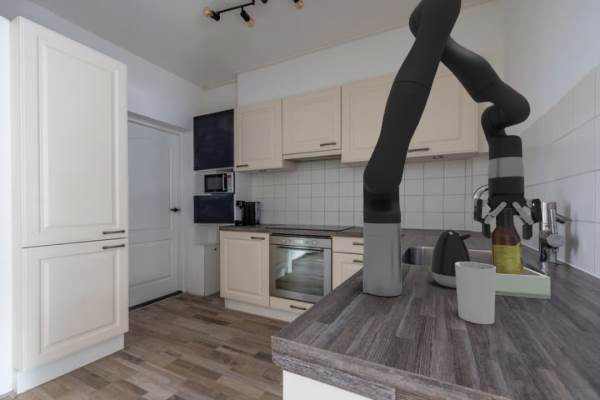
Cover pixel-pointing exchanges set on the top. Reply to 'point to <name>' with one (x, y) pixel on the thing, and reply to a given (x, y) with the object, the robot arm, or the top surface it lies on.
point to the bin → (523, 285)
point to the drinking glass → (476, 291)
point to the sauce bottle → (506, 245)
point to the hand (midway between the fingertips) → (506, 238)
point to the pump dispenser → (448, 256)
